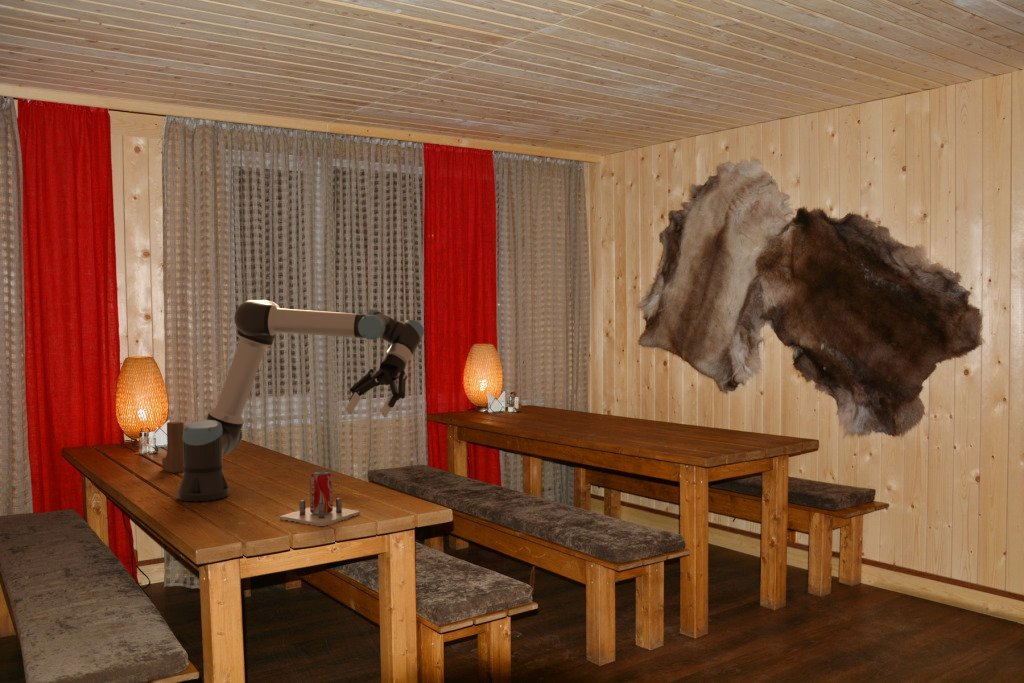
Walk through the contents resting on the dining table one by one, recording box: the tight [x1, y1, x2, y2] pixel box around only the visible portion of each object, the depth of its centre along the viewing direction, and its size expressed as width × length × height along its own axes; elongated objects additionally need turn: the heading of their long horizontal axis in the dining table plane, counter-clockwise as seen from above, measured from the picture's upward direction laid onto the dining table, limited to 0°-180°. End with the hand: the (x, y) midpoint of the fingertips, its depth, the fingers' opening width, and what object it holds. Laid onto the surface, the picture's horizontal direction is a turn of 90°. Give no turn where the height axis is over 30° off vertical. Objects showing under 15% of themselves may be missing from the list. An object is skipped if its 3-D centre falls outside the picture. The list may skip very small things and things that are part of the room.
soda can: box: [309, 470, 334, 516], centre depth 245 cm, size 6×6×12 cm
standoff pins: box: [298, 497, 343, 519], centre depth 245 cm, size 9×9×4 cm
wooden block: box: [161, 420, 185, 474], centre depth 310 cm, size 9×4×18 cm, turn 46°
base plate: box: [279, 506, 362, 527], centre depth 245 cm, size 16×16×1 cm
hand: (365, 413), depth 261 cm, fingers open, 13 cm apart
